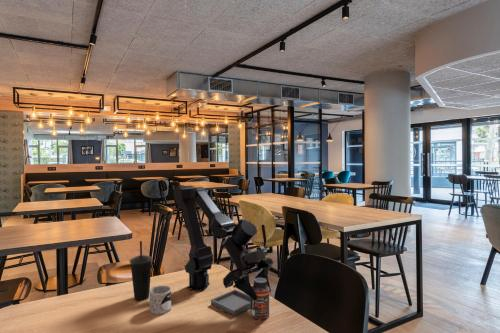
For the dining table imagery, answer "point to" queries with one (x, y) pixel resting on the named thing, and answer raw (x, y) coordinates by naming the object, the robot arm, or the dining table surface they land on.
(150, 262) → the drinking cup
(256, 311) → the supplement bottle
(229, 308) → the tray
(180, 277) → the dining table surface
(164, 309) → the mug
